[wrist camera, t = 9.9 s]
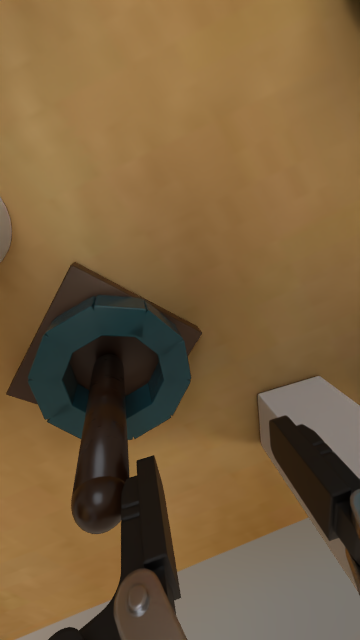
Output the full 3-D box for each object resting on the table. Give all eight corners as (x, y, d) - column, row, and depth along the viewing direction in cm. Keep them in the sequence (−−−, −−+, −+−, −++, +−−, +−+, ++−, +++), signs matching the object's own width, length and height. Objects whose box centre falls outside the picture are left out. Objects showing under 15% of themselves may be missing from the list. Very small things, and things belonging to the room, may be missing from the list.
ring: (206, 332, 22) (218, 346, 19) (141, 433, 23) (144, 458, 21) (81, 265, 18) (75, 272, 15) (15, 392, 20) (0, 417, 17)
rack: (197, 326, 23) (297, 450, 10) (136, 424, 25) (156, 629, 12) (74, 261, 19) (-8, 332, 6) (12, 383, 21) (-144, 622, 8)
